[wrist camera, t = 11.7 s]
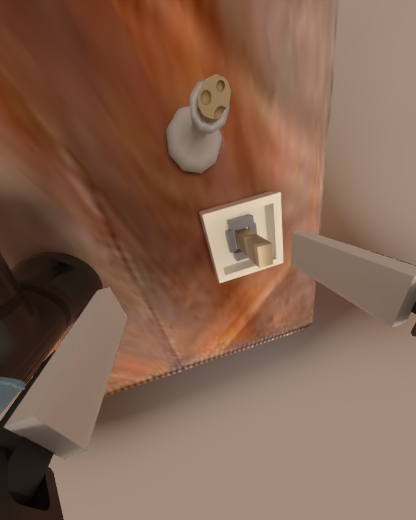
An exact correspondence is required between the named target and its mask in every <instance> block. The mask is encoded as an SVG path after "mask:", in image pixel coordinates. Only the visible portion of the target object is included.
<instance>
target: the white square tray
mask: <svg viewBox="0 0 416 520" xmlns="http://www.w3.org/2000/svg"><path fill="white" fill-rule="evenodd" d="M199 215H200V219H201V222H202V226H203V230H204V234H205V237H206V241H207V245H208V249H209V253H210V256H211V260H212V264H213V268H214V272H215V275H216V277H217V279H218V281H219V283H222V282H226V281H229V280H232V279H235V278H238V277H241V276H244V275H247V274H250V273H253V272H257V271H260V270H263V269H266V268H269V267H272V266H275V265H278V264H281V263H283V240H282V214H281V192H265V193H262V194H258V195H255V196H251V197H248V198H244V199H241V200H237V201H234V202H231V203H227V204H224V205H220V206H217V207H213V208H210V209H206V210H203V211H199ZM242 228H246V229H248V230H250V231H252V232H253V233H255V234H257V235H259V236H261V237H262V238H264V239H266V240H268V241H269V242H271V243H272V255H273V264H272V265H269V266H266V267H262V268H259V267H258V266H257V265H256V264H254V263H253V262H252V261H251V260H250V259H249V258H248V257H247V256H246V255H245V254H244V253H243V252H242V251H241V250H240V249H239V248H237V244H236V238H235V232H234V231H235V230H239V229H242Z"/></svg>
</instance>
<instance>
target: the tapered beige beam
mask: <svg viewBox="0 0 416 520" xmlns="http://www.w3.org/2000/svg"><path fill="white" fill-rule="evenodd" d="M234 232H235V238H236V244H237V248H239V249H240V250H241V251H242V252H243V253H244V254H245V255H246V256H247V257H248V258H249V259H250V260H251V261H252V262H253V263H254V264H256V265H257V266H258V267H259V268H262V267H266V266H269V265H272V264H273V255H272V243H271V242H269V241H268V240H266V239H264V238H262V237H261V236H259V235H257V234H255V233H253V232H252V231H250V230H248V229H246V228H242V229H239V230H235V231H234Z"/></svg>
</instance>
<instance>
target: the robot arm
mask: <svg viewBox="0 0 416 520" xmlns="http://www.w3.org/2000/svg"><path fill="white" fill-rule="evenodd" d="M291 265H292V266H294V267H296V268H297V269H299V270H300V271H302V272H304V273H305V274H307V275H308V276H310V277H312V278H313V279H315V280H316V281H318V282H320V283H321V284H323V285H324V286H326V287H328V288H329V289H331V290H332V291H334V292H336V293H337V294H339V295H340V296H342V297H344V298H345V299H347V300H348V301H350V302H352V303H353V304H355V305H356V306H358V307H359V308H361V309H363V310H364V311H366V312H367V313H369V314H371V315H372V316H374V317H375V318H377V319H379V320H380V321H382V322H383V323H385V324H387V325H388V326H390V327H391V328H393V327H395V326H398V325H400V324H403V323H405V322H407V319H408V317H409V315H410V313H411V312H413V313H415V314H416V265H413V264H410V263H407V262H404V261H401V260H397V259H394V258H391V257H388V256H384V255H382V254H378V253H375V252H372V251H367V250H364V249H361V248H358V247H355V246H352V245H348V244H345V243H342V242H339V241H335V240H332V239H329V238H326V237H323V236H320V235H317V234H314V233H310V232H307V231H304V230H301V229H300V230H297V231H294V232H291ZM127 318H128V317H127V315H126V313H125V312H124V310H123V309H122V307H121V305H120V304H119V302H118V300H117V299H116V297H115V295H114V294H113V292H112V290H111V289H110V287H107V288H104V289H102V285H101V281H100V279H99V277H98V275H97V274H96V272H95V271H94V270H93V269H92V268H91V267H90V266H89V265H87V264H86V263H84V262H83V261H81V260H79V259H77V258H75V257H73V256H70V255H66V254H62V253H52V252H49V253H40V254H36V255H33V256H31V257H29V258H27V259H25V260H23V261H21V262H19V263H17V264H16V265H15V266H14V267H13V268H12V269H11V270H10V268H9V267H8V265H7V263H6V261H5V260H4V258H3V256H2V254H1V253H0V414H1V413H2V412H3V411H4V409H5V408H6V407H7V406H8V405H9V403H10V402H11V401H12V400H13V398H14V397H15V396H16V395H17V394H18V393H19V392H20V391H22V392H21V393H20V394H19V396H18V397H17V399H16V400H15V401H14V403H13V404H12V406H11V407H10V408H9V410H8V411H7V413H6V414H5V416H4V417H3V418H2V420H1V421H0V520H64V519H63V515H62V510H61V506H60V501H59V497H58V492H57V487H56V483H55V478H54V473H53V471H52V470H51V468H49V467H48V465H49V463H50V461H51V458H52V456H53V454H55V455H57V456H59V457H61V458H63V459H67V458H69V457H71V456H74V455H77V454H79V453H81V452H84V451H86V450H87V448H88V445H89V442H90V438H91V435H92V432H93V429H94V425H95V422H96V419H97V416H98V412H99V409H100V406H101V402H102V399H103V396H104V393H105V390H106V386H107V383H108V380H109V377H110V373H111V370H112V367H113V364H114V361H115V357H116V354H117V351H118V348H119V344H120V341H121V338H122V335H123V331H124V328H125V325H126V322H127ZM75 321H76V322H75ZM74 322H75V324H74V325H73V327H72V328H71V329H70V331H69V332H68V334H67V335H66V337H65V338H64V340H63V341H62V343H61V344H60V346H59V347H58V348H57V350H55V351H54V352H53V353H52V354H51V355H50V356H49V357H48V358H47V359H46V360H45V361H44V362H43V360H44V359H45V358H46V356H47V355H48V353H49V352H50V351H51V349H52V348H53V347H54V345H55V344H56V343H57V341H58V340H59V338H60V337H61V336H62V334H63V333H64V331H65V330H66V329H67V328H68V326H70V325H71V324H73V323H74ZM411 334H412V336H416V323H415V325H414V327H413V329H412V331H411ZM42 362H43V363H42ZM41 363H42V364H41ZM40 364H41V365H40ZM39 366H40V367H39ZM38 367H39V368H38ZM37 368H38V369H37ZM36 370H37V371H36ZM35 371H36V372H35ZM33 374H34V375H33ZM32 375H33V378H31V377H32ZM30 378H31V379H30ZM29 379H30V380H29ZM28 381H29V382H28ZM27 382H28V383H27ZM26 384H27V385H26ZM24 387H25V389H24ZM23 389H24V390H23Z"/></svg>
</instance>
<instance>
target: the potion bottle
mask: <svg viewBox="0 0 416 520" xmlns="http://www.w3.org/2000/svg"><path fill="white" fill-rule="evenodd" d="M230 95H231V89H230V87H229V84H228V82H227V79H226V78H224V77H222V76H220V75H217V74H215V75H213V76H211V77H209V78H207V79H205V80H203V81H198V82H197V84H196V86H195V88H194V89H193V91H192V93H191V95H190V96H189V100H190V106H188V107H183V108H179V109H178V110H177V111H176V113H175V115H174V117H173V119H172V120H171V122H170V124H169V126H168V128H167V129H166V135H167V143H168V151H169V155H170V156H171V157H172V158H173V160H174V161H175V162H176V163H177V164H178V165H179V167H180V168H181V169H182V170H183V171H188V172H195V173H202V172H204V171H205V170H207V169H208V168H209V167H211V166H212V165H213V164H215V163H216V160H217V157H218V153H219V150H220V146H221V142H222V137H221V134H220V130H219V128H220V127H222V126H223V125H224V124H225V123H226V119H227V116H228V112H229V108H230V106H229V102H230Z"/></svg>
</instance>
